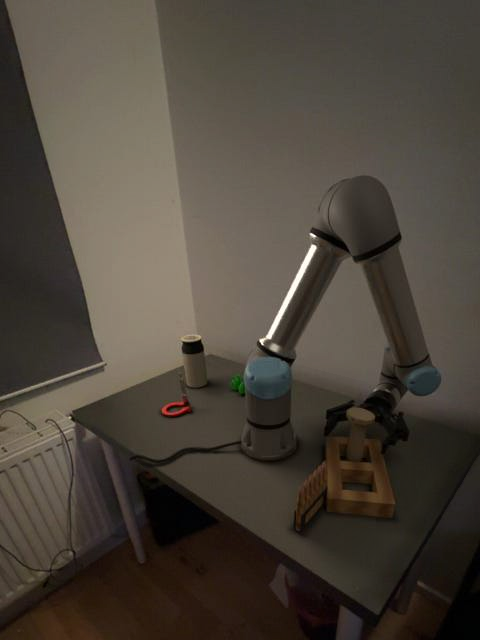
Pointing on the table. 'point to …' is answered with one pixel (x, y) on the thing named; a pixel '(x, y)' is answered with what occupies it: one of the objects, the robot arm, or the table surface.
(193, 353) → the travel mug
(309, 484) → the ammunition clip
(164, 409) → the tow hook
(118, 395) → the table surface
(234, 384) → the green lumpy cluster
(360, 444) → the handle
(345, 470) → the rack
